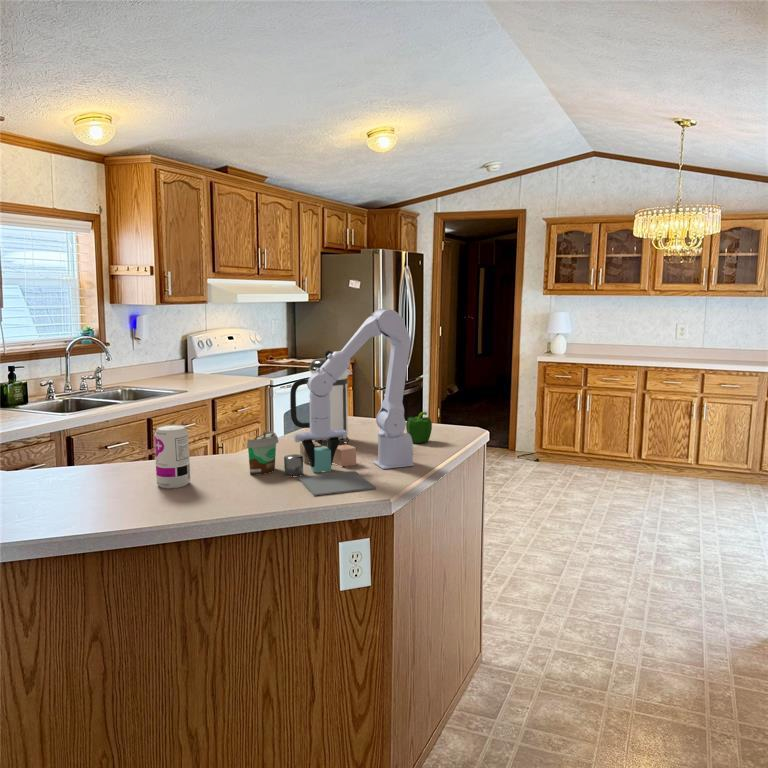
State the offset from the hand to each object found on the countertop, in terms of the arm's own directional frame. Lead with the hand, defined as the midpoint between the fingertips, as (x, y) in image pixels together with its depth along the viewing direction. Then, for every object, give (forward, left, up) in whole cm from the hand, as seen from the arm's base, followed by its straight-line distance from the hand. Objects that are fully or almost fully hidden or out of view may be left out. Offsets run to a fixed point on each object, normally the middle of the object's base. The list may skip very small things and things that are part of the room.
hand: (321, 465), depth 185 cm
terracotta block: (-8, -4, -2) cm, 9 cm away
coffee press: (-11, -33, -2) cm, 35 cm away
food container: (+14, -5, -2) cm, 15 cm away
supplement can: (+39, -1, -2) cm, 39 cm away
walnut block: (0, -11, -2) cm, 11 cm away
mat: (0, +14, -1) cm, 14 cm away
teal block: (0, 0, -1) cm, 1 cm away
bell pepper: (-39, -21, -2) cm, 44 cm away
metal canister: (+8, +1, -1) cm, 8 cm away
